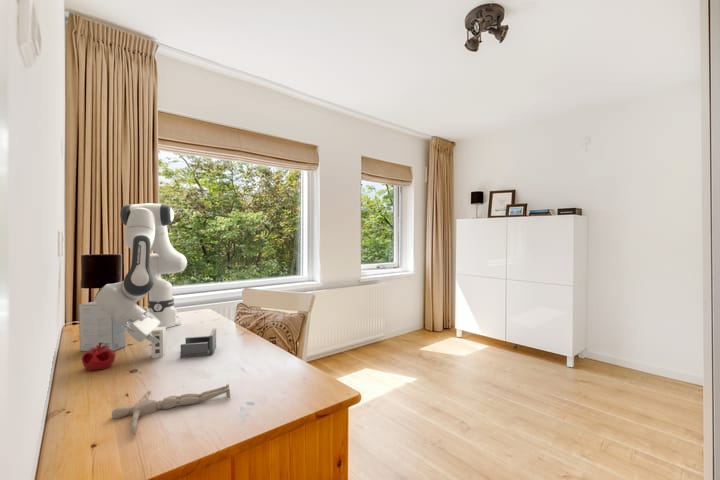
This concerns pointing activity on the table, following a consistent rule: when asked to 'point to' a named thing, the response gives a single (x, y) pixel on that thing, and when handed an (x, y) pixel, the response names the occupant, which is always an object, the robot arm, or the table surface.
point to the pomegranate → (98, 358)
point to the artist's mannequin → (165, 404)
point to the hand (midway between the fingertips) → (160, 339)
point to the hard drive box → (99, 328)
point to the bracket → (199, 345)
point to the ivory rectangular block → (160, 347)
